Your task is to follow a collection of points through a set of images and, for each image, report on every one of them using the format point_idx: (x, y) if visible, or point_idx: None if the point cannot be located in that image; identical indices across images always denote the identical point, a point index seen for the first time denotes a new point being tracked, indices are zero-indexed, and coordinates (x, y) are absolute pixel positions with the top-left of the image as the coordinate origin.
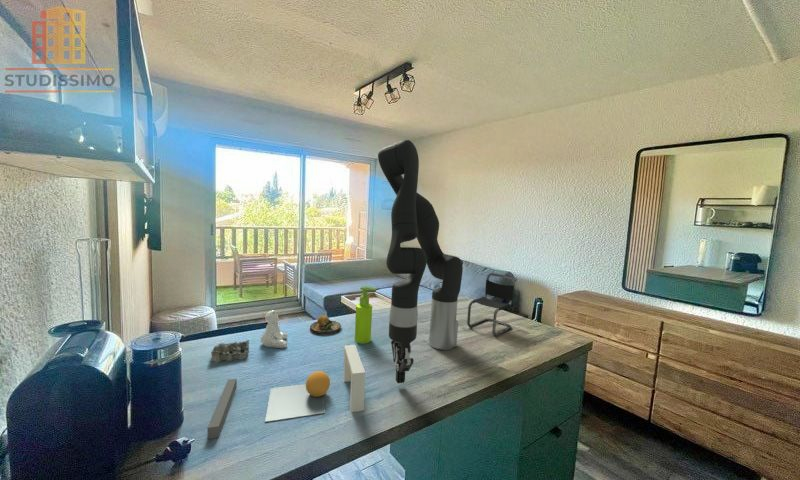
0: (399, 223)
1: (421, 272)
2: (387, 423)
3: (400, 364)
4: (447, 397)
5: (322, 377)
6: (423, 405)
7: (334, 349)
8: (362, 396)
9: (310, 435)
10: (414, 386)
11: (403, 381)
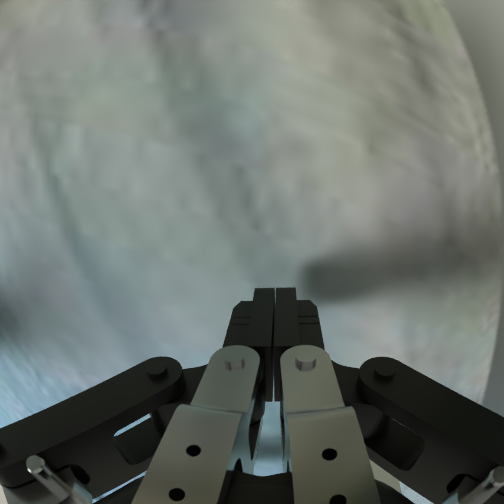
0: None
1: None
2: (477, 376)
3: (256, 404)
4: (438, 42)
5: None
6: (472, 211)
7: (22, 410)
8: (396, 479)
9: (402, 489)
10: (292, 193)
11: (312, 306)
